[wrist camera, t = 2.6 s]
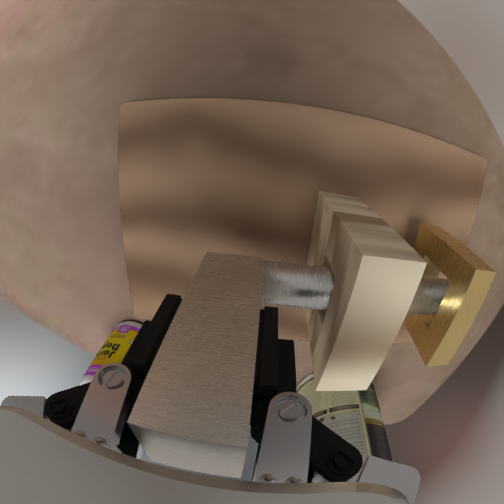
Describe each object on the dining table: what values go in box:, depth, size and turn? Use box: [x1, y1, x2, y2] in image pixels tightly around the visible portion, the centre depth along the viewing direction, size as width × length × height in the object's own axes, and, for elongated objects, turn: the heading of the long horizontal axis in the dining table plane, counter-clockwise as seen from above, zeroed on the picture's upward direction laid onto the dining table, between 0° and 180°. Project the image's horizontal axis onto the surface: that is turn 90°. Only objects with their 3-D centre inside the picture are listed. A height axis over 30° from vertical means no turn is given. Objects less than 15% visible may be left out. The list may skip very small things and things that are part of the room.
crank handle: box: [127, 252, 450, 478], centre depth 11 cm, size 18×3×11 cm, turn 85°
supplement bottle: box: [79, 321, 143, 386], centre depth 23 cm, size 7×7×13 cm
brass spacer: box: [403, 223, 496, 367], centre depth 15 cm, size 7×2×7 cm, turn 175°
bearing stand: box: [118, 98, 487, 391], centre depth 16 cm, size 20×31×12 cm, turn 85°
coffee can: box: [296, 373, 392, 462], centre depth 24 cm, size 10×10×14 cm
